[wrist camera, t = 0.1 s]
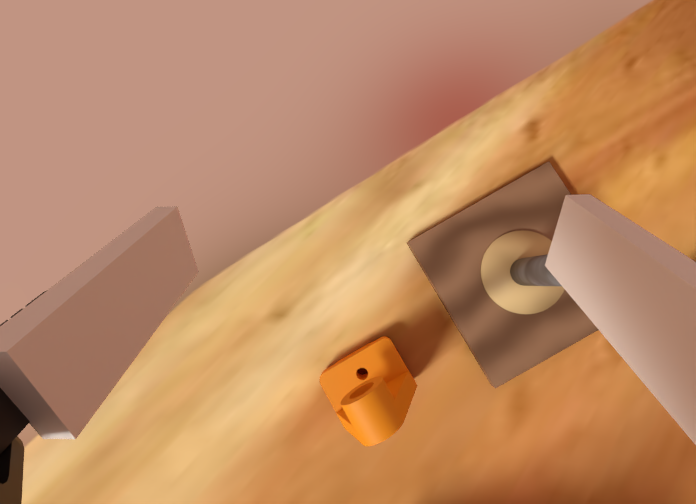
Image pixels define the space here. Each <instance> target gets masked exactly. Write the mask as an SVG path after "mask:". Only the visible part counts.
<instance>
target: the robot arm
mask: <svg viewBox="0 0 696 504" xmlns="http://www.w3.org/2000/svg"><path fill="white" fill-rule="evenodd" d="M545 266H546V268H547V269H548V270H549V271H550V272H551V274H552V275H553V276H554V277H555V278H556V280H557V281H558V282H559V283H560V284H561V285H562V287H563V288H564V289H565V290H566V291H567V293H568V294H569V295H570V296H571V297H572V299H573V300H574V301H575V302H576V303H577V305H578V306H579V307H580V308H581V309H582V310H583V312H584V313H585V314H586V315H587V316H588V318H589V319H590V320H591V321H592V322H593V324H594V325H595V326H596V327H597V328H598V329H599V331H600V332H601V333H602V334H603V335H604V337H605V338H606V339H607V340H608V341H609V343H610V344H611V345H612V346H613V347H614V349H615V350H616V351H617V352H618V353H619V354H620V356H621V357H622V358H623V359H624V360H625V362H626V363H627V364H628V365H629V366H630V368H631V369H632V370H633V371H634V372H635V373H636V375H637V376H638V377H639V378H640V379H641V381H642V382H643V383H644V384H645V385H646V387H647V388H648V389H649V390H650V391H651V393H652V394H653V395H654V396H655V397H656V398H657V400H658V401H659V402H660V403H661V404H662V406H663V407H664V408H665V409H666V410H667V412H668V413H669V414H670V415H671V416H672V417H673V419H674V420H675V421H676V422H677V423H678V425H679V426H680V427H681V428H682V429H683V431H684V432H685V433H686V434H687V435H688V437H689V438H690V439H691V440H692V441H693V442H694V444H695V445H696V262H695V261H693V260H692V259H690V258H689V257H687V256H686V255H684V254H682V253H681V252H679V251H678V250H676V249H675V248H673V247H671V246H670V245H668V244H667V243H665V242H664V241H662V240H661V239H659V238H657V237H656V236H654V235H653V234H651V233H650V232H648V231H646V230H645V229H643V228H642V227H640V226H639V225H637V224H635V223H634V222H632V221H631V220H629V219H628V218H626V217H625V216H623V215H621V214H620V213H618V212H617V211H615V210H614V209H612V208H610V207H609V206H607V205H606V204H604V203H603V202H601V201H600V200H598V199H596V198H595V197H593V196H592V195H590V194H584V195H566V196H565V199H564V202H563V206H562V209H561V212H560V216H559V219H558V222H557V226H556V229H555V233H554V236H553V239H552V243H551V246H550V249H549V253H548V256H547V259H546V263H545ZM197 274H198V269H197V266H196V262H195V259H194V256H193V253H192V250H191V247H190V244H189V241H188V238H187V235H186V232H185V229H184V226H183V223H182V219H181V217H180V214H179V210H178V207H156V208H154V209H153V210H152V211H150V212H149V213H148V214H147V215H145V216H144V217H143V218H141V219H140V220H139V221H137V222H136V223H135V224H133V225H132V226H131V227H130V228H128V229H127V230H126V231H125V232H123V233H122V234H120V235H119V236H118V237H116V238H115V239H114V240H113V241H111V242H110V243H109V244H107V245H106V246H105V247H103V248H102V249H101V250H100V251H98V252H97V253H96V254H94V255H93V256H92V257H90V258H89V259H88V260H86V261H85V262H84V263H82V264H81V265H80V266H79V267H77V268H76V269H75V270H74V271H72V272H71V273H70V274H68V275H67V276H66V277H64V278H63V279H62V280H60V281H59V282H58V283H57V284H55V285H54V286H53V287H51V288H50V289H49V290H47V291H45V292H43V293H42V294H40V295H39V296H38V297H37V298H35V299H34V300H33V301H32V302H30V303H29V304H27V305H26V307H25V308H24V309H21V310H19V311H18V312H17V313H15V314H14V315H13V316H12V317H11V319H9V320H6V321H5V322H4V323H2V324H1V325H0V504H21V499H22V480H23V461H24V446H23V443H22V441H21V440H20V439H19V438H18V437H17V435H18V434H19V433H20V432H21V431H22V430H23V429H24V428H25V427H26V425H27V424H28V423H30V424H31V426H32V427H33V428H34V429H35V430H36V431H37V432H38V434H39V435H40V436H41V437H42V438H43V439H76V438H77V437H78V435H79V434H80V433H81V431H82V430H83V428H84V427H85V426H86V424H87V423H88V422H89V420H90V419H91V418H92V416H93V415H94V414H95V412H96V411H97V409H98V408H99V407H100V405H101V404H102V403H103V401H104V400H105V399H106V397H107V396H108V394H109V393H110V392H111V390H112V389H113V388H114V386H115V385H116V384H117V382H118V381H119V380H120V378H121V377H122V375H123V374H124V373H125V371H126V370H127V369H128V367H129V366H130V365H131V363H132V362H133V361H134V359H135V358H136V356H137V355H138V354H139V352H140V351H141V350H142V348H143V347H144V346H145V344H146V343H147V341H148V340H149V339H150V337H151V336H152V335H153V333H154V332H155V331H156V329H157V328H158V327H159V325H160V324H161V322H162V321H163V320H164V318H165V317H166V316H167V314H168V313H169V312H170V310H171V309H172V307H173V306H174V305H175V303H176V302H177V301H178V299H179V298H180V297H181V295H182V294H183V293H184V291H185V290H186V288H187V287H188V286H189V284H190V283H191V281H192V280H193V279H194V278H195V276H196V275H197Z"/></svg>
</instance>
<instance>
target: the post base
mask: <svg viewBox="0 0 696 504" xmlns="http://www.w3.org/2000/svg"><path fill="white" fill-rule="evenodd" d="M566 195H571V194H570V192H569V191H568V189H567V188H566V186H565V185H564V183H563V182H562V180H561V179H560V177H559V176H558V174H557V173H556V171H555V170H554V168H553V167H552V165H551V164H550V162H547V163H545V164H543V165H542V166H540V167H538V168H536V169H535V170H533V171H531V172H529V173H528V174H526V175H524V176H522V177H521V178H519V179H517V180H515V181H514V182H512V183H510V184H508V185H507V186H505V187H503V188H501V189H500V190H498V191H496V192H494V193H493V194H491V195H489V196H487V197H486V198H484V199H482V200H480V201H479V202H477V203H475V204H473V205H472V206H470V207H468V208H466V209H465V210H463V211H461V212H459V213H458V214H456V215H454V216H452V217H451V218H449V219H447V220H445V221H444V222H442V223H440V224H438V225H437V226H435V227H433V228H431V229H430V230H428V231H426V232H424V233H423V234H421V235H419V236H417V237H416V238H414V239H412V240H410V241H409V242H407V244H408V246H409V248H410V249H411V251H412V253H413V254H414V256H415V258H416V259H417V261H418V263H419V264H420V266H421V268H422V270H423V271H424V273H425V275H426V276H427V278H428V280H429V281H430V283H431V285H432V286H433V288H434V290H435V291H436V293H437V295H438V296H439V298H440V300H441V301H442V303H443V305H444V306H445V308H446V310H447V312H448V313H449V315H450V317H451V318H452V320H453V322H454V323H455V325H456V327H457V328H458V330H459V332H460V333H461V335H462V337H463V338H464V340H465V342H466V343H467V345H468V347H469V348H470V350H471V352H472V354H473V355H474V357H475V359H476V360H477V362H478V364H479V365H480V367H481V369H482V370H483V372H484V374H485V375H486V377H487V379H488V380H489V382H490V384H491V385H492V386H493V387H494V388H497V387H499V386H500V385H502V384H504V383H506V382H507V381H509V380H511V379H513V378H514V377H516V376H518V375H520V374H521V373H523V372H525V371H527V370H529V369H530V368H532V367H534V366H536V365H537V364H539V363H541V362H543V361H544V360H546V359H548V358H550V357H551V356H553V355H555V354H557V353H558V352H560V351H562V350H564V349H565V348H567V347H569V346H571V345H572V344H574V343H576V342H578V341H580V340H581V339H583V338H585V337H587V336H588V335H590V334H592V333H594V332H595V331H597V330H599V329H598V328H597V327H596V326H595V325H594V324H593V322H592V321H591V320H590V319H589V318H588V316H587V315H586V314H585V313H584V312H583V310H582V309H581V308H580V307H579V306H578V305H577V303H576V302H575V301H574V300H573V299H572V297H571V296H570V295H569V294H568V293H567V291H566V290H565V289H564V288H563V287H562V285H561V284H560V283H559V282H558V281H557V280H556V278H555V277H554V276H553V275H552V274H551V272H550V271H549V270H548V269H547V268H546V266H545V263H546V259H547V256H548V253H549V249H550V246H551V243H552V239H553V236H554V233H555V229H556V226H557V222H558V219H559V216H560V212H561V209H562V206H563V202H564V199H565V196H566Z"/></svg>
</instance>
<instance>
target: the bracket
mask: <svg viewBox="0 0 696 504" xmlns="http://www.w3.org/2000/svg"><path fill="white" fill-rule="evenodd" d="M359 368H365V369H366V370H367V371H368V372H367V373H366V374H364V375H362V374H359V373H358V371H357V370H358V369H359ZM320 384H321V386H322V388H323V390H324V391H325V393H326V395H327V397H328V399H329V401H330V402H331V404H332V406H333V408H334V410H335V412H336V413H337V415H338V417H339V419H340V421H341V423H342V424H343V426H344V428H345V429H346V430H347V431H348V432H349V433H351V434H352V435H353V436H354V437H355V438H356V439H357V440H358V441H359V442H360V443H362V444H363V445H364V446H373V445H376V444H378V443H380V442H382V441H384V440H386V439H387V438H389V437H390V436H392V435H393V434H394V433H395V432H396V431H397V430H398V429H399V428H400V427H401V426H402V424H403V422H404V420H405V417H406V414H407V412H408V409H409V406H410V404H411V401H412V398H413V396H414V393H415V390H416V387H417V384H416V382H415V380H414V379H413V377H412V375H411V374H410V372H409V370H408V368H407V367H406V365H405V363H404V362H403V360H402V358H401V356H400V355H399V353H398V351H397V349H396V348H395V346H394V344H393V343H392V341H391V339H390V338H388V337H386V336H383V337H380V338H379V339H377V340H375V341H373V342H372V343H371V342H370V343H368V344H367V345H365V346H363V347H361V348H360V349H358V350H356V351H355V352H353V353H351V354H349V355H348V356H346V357H344V358H343V359H341V360H339V361H337V362H336V363H335V364H334V365H332V366H331V367H329V368H327V369H325V370H324V371H323V372H322V374H321V376H320Z"/></svg>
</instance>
